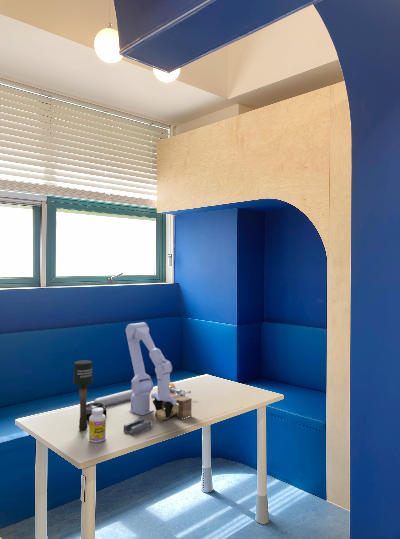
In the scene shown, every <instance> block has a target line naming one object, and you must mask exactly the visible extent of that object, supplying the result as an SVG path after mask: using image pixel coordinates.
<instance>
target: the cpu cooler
mask: <svg viewBox="0 0 400 539" xmlns="http://www.w3.org/2000/svg"><path fill="white" fill-rule="evenodd" d="M93 408H103V414H104V415H105V417H106V418H107V409H106V407H105V404H103V403H93V402H90V403H86V417H87V422H89V418H90V416H91V415H92V409H93Z"/></svg>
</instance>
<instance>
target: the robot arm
mask: <svg viewBox="0 0 400 539" xmlns="http://www.w3.org/2000/svg"><path fill="white" fill-rule="evenodd" d="M125 334H126V339H127V343H128V350H129V355H130V357H131V363H132V367H133V373H134V377H133V378H132V379H131V381H130V382H131V390H132V392H133V394H132V396H131V400H130V410H128V412H130V413H134V414H137V415H139V416H145V415H147V414H150V413H152V412H154V409H151V407H150V406H151V399H154V400H152V403H153V406H154V407H155V412H156V411H157V410H160V409H162V404H163V401H165V402H167V403H165V404H164V407H165V413H166V418H167V419H169V418H171V417H170V414H171V411H172V408H173V406H174V404H177V403H176V399H174V398H172V397H171V396H170V382H171V378H170V376H171V375H170V374H171V373H172V372H173V365H172V363H171V361H170V360H168V359H166V357H165V356H164V354H163V353H162V350H161V349H160V348H158V347H156V346H155V343H154V340H153V339H152V336H151V334H150V328H149V325H148V323H146V322H145V321H142V322H136V323H129V324H127V325H126V328H125ZM140 341H141V342H143V344H144V345H145V347H146V348H147V350H148V351H149V352H148V353H149V354H148V355H149V358H150V359H151V361H152V363H153V364H154V367H155V368H154V371H155V374H156V379H157V393H152V391H153V389H154V383H153V380H152V378H151V376H150V375H149V374H147V373H146V369H145V364H144V360H143V355H142V351H141V345H140ZM151 393H152V394H151ZM150 396H151V398H150Z"/></svg>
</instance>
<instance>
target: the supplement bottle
mask: <svg viewBox="0 0 400 539" xmlns="http://www.w3.org/2000/svg"><path fill="white" fill-rule="evenodd" d="M106 419H107V416H106V417H105V415H104V414H103V408H93V409H92V415H91V416H90V418H89V421H88V423H89V424H88V431H89V432H88V438H89V439H88V440H89V442H90V443H94V444H97V443H102V442H104V441H105V440H106V429H107V426H106V425H107V423H106V421H107V420H106Z"/></svg>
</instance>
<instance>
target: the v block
mask: <svg viewBox="0 0 400 539" xmlns="http://www.w3.org/2000/svg"><path fill="white" fill-rule="evenodd" d="M150 429H152V420H150V419H149V420H146V421H145V418H143V417H142V418H138V419H135V420H133V421H131V422H129V423H125V424H124V425H123V432H124V433H126V434H128V435H130V436H131V435H132V436H135V435H137V434H139V433H143V432H145V431H147V430H150Z"/></svg>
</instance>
